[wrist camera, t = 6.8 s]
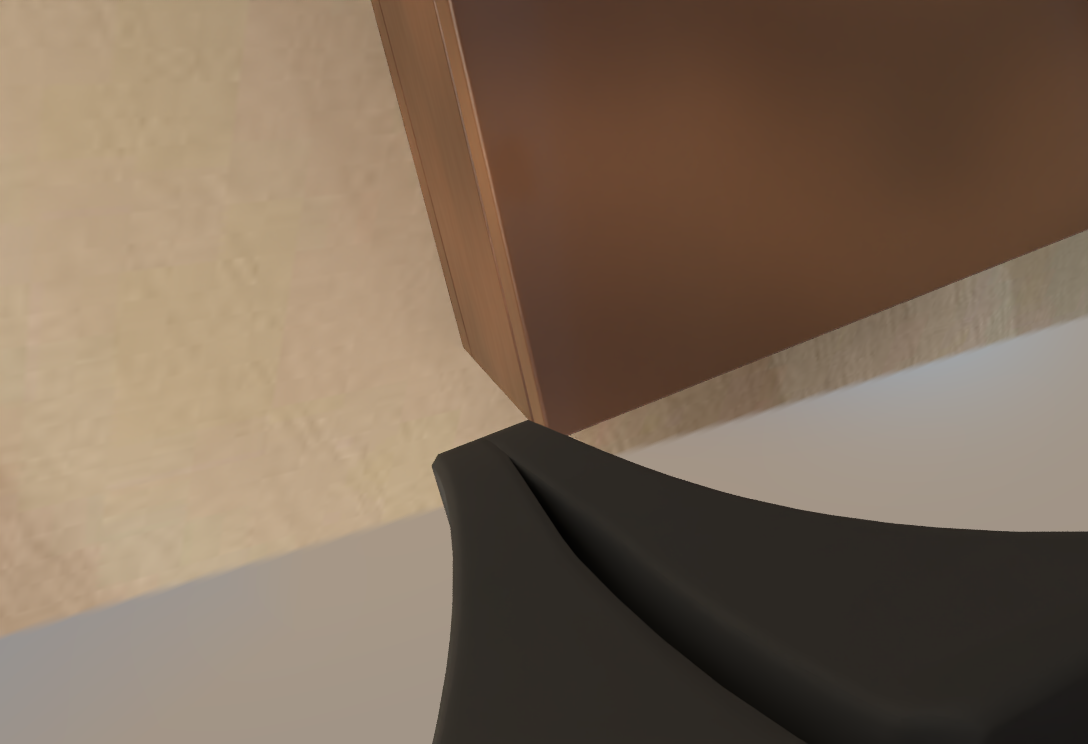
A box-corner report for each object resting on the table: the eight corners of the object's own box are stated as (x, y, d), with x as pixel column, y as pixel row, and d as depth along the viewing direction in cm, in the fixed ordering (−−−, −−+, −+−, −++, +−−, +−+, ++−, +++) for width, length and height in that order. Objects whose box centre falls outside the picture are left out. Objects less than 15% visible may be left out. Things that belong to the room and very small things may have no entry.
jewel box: (302, -253, 16) (350, -350, 12) (955, -347, 20) (1162, -444, 16) (463, 348, 21) (533, 426, 17) (944, 178, 25) (1094, 209, 21)
